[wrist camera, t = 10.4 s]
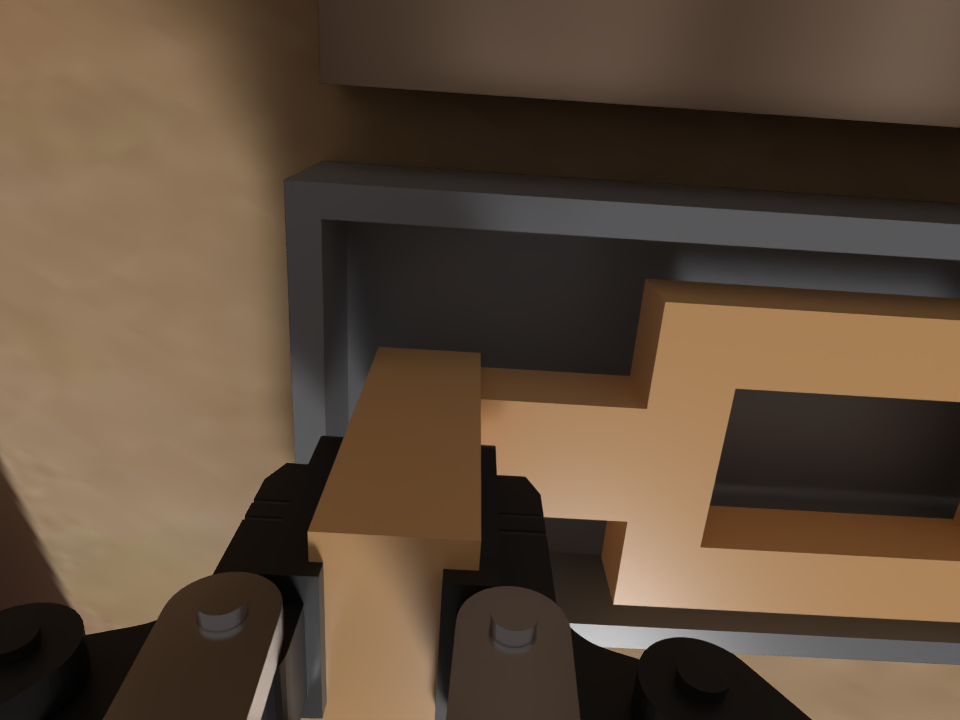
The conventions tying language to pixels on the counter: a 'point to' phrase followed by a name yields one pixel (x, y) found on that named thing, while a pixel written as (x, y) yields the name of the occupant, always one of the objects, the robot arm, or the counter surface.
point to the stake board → (661, 53)
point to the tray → (631, 348)
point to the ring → (624, 476)
